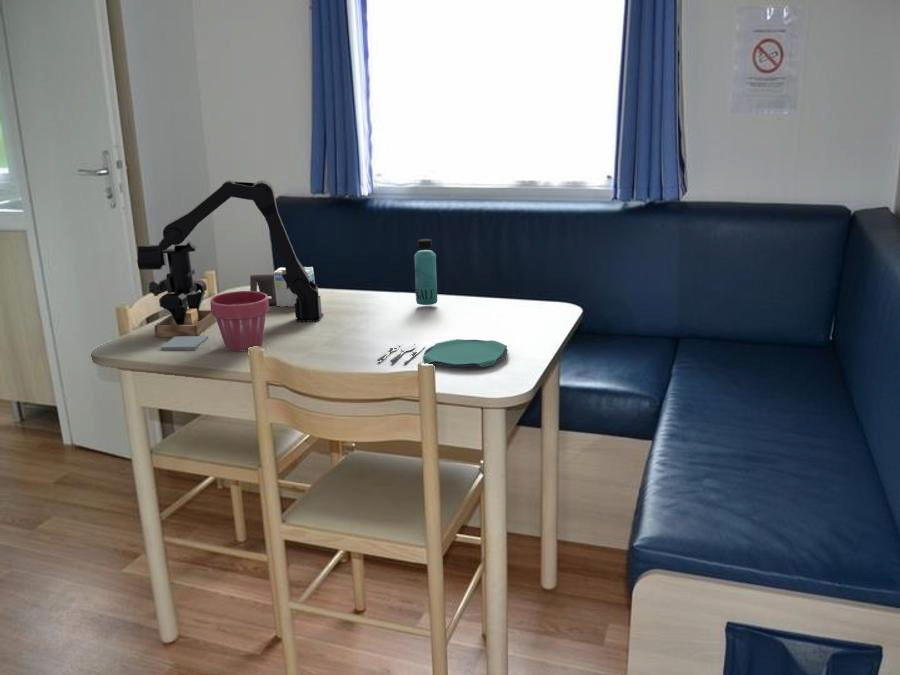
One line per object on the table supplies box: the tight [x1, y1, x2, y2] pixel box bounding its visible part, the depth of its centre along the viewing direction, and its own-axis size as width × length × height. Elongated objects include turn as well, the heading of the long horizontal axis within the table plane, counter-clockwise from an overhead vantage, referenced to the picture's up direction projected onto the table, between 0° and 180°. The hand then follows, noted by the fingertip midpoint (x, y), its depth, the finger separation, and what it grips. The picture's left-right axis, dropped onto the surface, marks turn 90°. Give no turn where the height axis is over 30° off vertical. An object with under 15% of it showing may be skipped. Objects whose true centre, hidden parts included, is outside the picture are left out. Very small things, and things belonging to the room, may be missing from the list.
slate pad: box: [160, 335, 209, 351], centre depth 211 cm, size 9×9×1 cm
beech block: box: [176, 308, 199, 325], centre depth 225 cm, size 4×4×5 cm
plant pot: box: [209, 290, 270, 352], centre depth 207 cm, size 14×14×13 cm
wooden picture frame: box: [154, 309, 217, 338], centre depth 225 cm, size 12×16×3 cm
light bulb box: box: [273, 266, 316, 308], centre depth 245 cm, size 11×7×11 cm, turn 84°
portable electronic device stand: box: [249, 273, 277, 306], centre depth 248 cm, size 9×8×8 cm
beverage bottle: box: [413, 238, 438, 306], centre depth 236 cm, size 6×7×20 cm
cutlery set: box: [376, 338, 509, 368], centre depth 196 cm, size 20×30×2 cm, turn 73°
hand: (187, 323), depth 225 cm, fingers open, 9 cm apart
